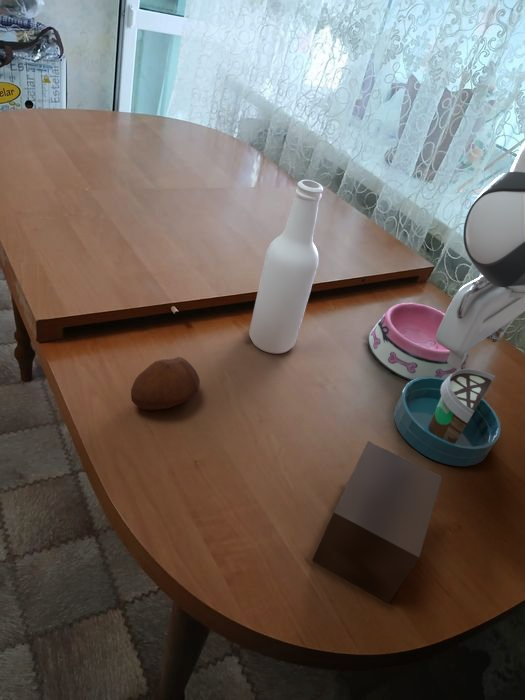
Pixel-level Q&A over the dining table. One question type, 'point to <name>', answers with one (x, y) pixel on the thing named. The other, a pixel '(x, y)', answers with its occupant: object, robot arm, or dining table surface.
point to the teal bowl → (414, 427)
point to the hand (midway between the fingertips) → (474, 350)
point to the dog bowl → (410, 342)
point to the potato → (165, 384)
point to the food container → (458, 402)
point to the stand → (379, 522)
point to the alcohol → (287, 275)
